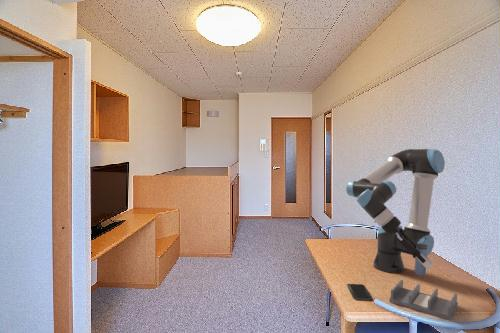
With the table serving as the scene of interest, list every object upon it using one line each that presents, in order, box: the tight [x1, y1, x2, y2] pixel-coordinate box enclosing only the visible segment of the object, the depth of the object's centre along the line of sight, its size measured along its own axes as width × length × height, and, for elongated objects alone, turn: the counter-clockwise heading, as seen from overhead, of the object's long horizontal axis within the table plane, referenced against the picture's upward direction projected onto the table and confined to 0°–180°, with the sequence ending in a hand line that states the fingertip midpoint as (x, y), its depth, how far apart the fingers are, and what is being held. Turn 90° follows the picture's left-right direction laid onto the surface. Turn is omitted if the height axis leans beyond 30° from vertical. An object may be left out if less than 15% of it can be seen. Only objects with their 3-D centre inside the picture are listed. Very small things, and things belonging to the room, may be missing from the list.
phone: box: [346, 283, 374, 302], centre depth 141 cm, size 8×1×15 cm
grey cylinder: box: [414, 243, 428, 277], centre depth 131 cm, size 4×4×12 cm
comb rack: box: [389, 279, 459, 321], centre depth 131 cm, size 15×22×5 cm
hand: (430, 266), depth 129 cm, fingers closed on grey cylinder, 4 cm apart
